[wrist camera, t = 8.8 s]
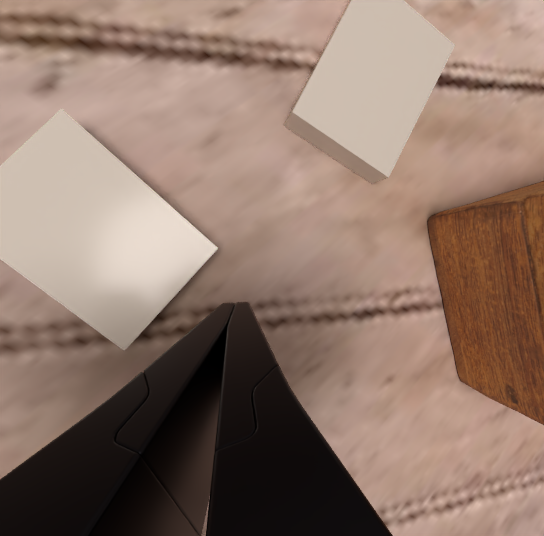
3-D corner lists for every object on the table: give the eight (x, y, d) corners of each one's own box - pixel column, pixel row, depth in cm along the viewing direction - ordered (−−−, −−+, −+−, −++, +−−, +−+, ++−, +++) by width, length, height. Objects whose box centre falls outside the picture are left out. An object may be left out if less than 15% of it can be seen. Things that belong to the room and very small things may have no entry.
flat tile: (216, 248, 21) (218, 248, 18) (134, 338, 20) (124, 351, 17) (81, 128, 18) (61, 108, 16) (-18, 223, 18) (-56, 218, 15)
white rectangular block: (388, 177, 21) (455, 44, 22) (292, 111, 19) (367, -31, 20) (368, 185, 24) (428, 66, 24) (281, 128, 22) (349, 1, 22)
